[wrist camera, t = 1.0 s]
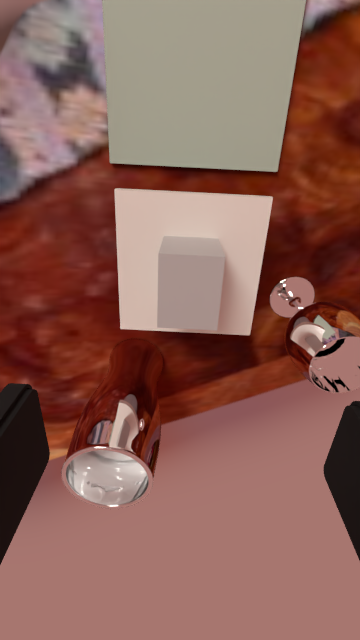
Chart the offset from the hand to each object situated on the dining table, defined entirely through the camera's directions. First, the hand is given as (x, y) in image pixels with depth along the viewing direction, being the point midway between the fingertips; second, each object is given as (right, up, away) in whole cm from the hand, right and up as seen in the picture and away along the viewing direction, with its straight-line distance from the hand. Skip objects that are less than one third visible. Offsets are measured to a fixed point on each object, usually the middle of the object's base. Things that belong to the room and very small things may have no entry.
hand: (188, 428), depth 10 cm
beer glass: (-5, -1, +26) cm, 27 cm away
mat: (+1, +23, +14) cm, 27 cm away
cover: (0, +8, +15) cm, 17 cm away
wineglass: (+11, +6, +22) cm, 26 cm away
